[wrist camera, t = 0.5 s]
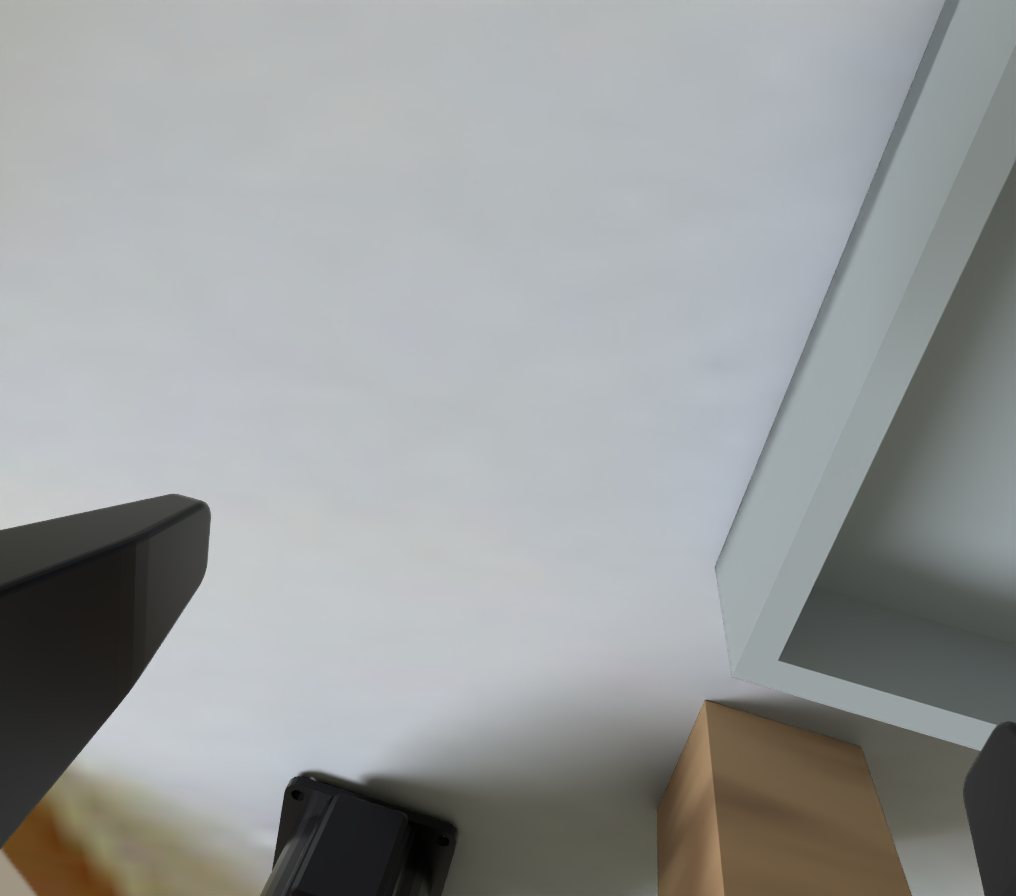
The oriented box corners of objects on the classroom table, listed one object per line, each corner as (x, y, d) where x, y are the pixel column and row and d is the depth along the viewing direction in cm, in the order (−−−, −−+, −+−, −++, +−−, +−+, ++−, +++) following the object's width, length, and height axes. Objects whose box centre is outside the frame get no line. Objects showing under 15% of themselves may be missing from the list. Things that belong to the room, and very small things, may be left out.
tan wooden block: (800, 854, 27) (848, 1084, 20) (656, 809, 27) (659, 1023, 21) (860, 746, 25) (935, 964, 18) (704, 699, 25) (725, 898, 18)
